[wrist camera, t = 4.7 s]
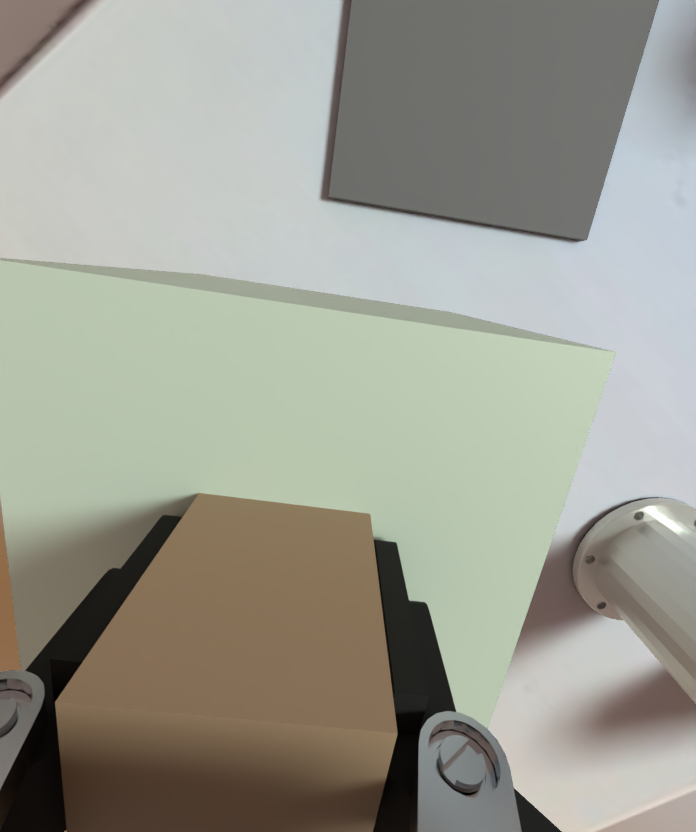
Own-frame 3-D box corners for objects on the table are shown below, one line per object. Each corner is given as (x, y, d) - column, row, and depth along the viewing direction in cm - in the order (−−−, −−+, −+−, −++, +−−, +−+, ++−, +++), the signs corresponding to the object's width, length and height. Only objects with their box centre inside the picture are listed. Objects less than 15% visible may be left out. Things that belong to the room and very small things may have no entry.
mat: (682, -97, 23) (691, -107, 23) (581, 240, 29) (586, 240, 28) (372, -173, 22) (373, -185, 22) (328, 197, 28) (328, 196, 27)
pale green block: (450, 312, 22) (955, 435, 4) (405, 524, 26) (551, 1078, 8) (202, 274, 21) (-593, 209, 3) (194, 499, 25) (-186, 1046, 7)
